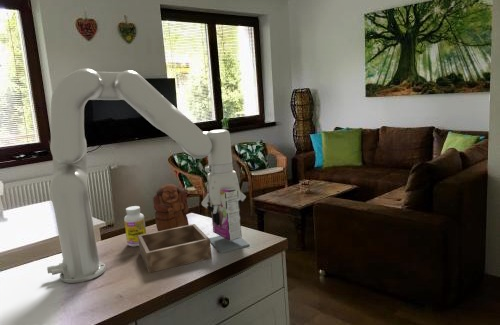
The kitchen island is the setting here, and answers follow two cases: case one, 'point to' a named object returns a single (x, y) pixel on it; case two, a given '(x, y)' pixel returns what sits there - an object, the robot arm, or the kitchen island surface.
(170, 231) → the open wooden crate
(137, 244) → the supplement bottle
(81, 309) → the kitchen island surface
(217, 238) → the grey mat
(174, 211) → the wooden figurine
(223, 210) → the candy bar box
